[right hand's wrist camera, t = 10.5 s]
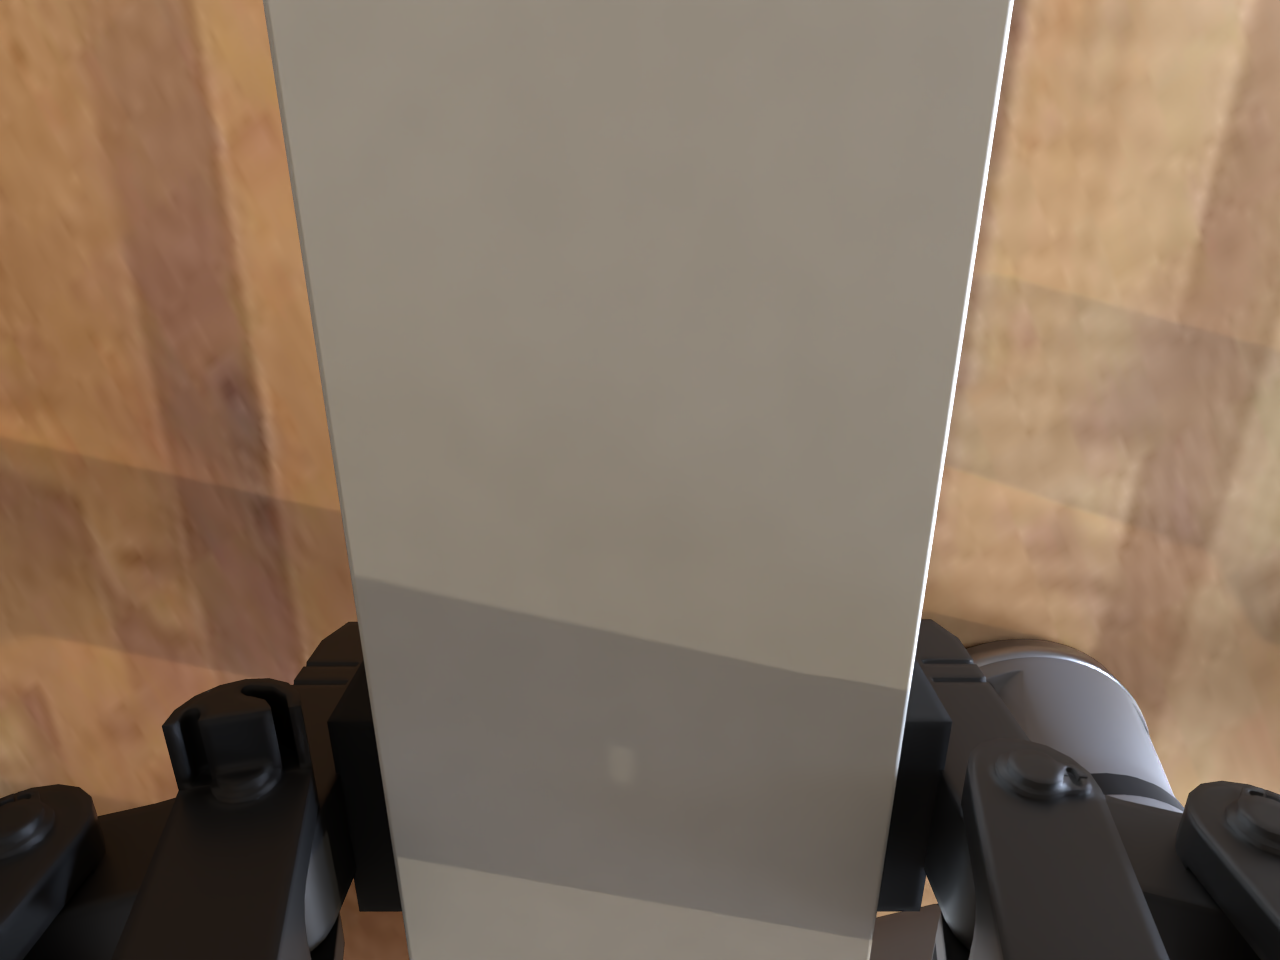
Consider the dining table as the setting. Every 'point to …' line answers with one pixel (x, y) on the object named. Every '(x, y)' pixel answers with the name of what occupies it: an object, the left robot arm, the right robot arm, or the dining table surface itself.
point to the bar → (638, 441)
